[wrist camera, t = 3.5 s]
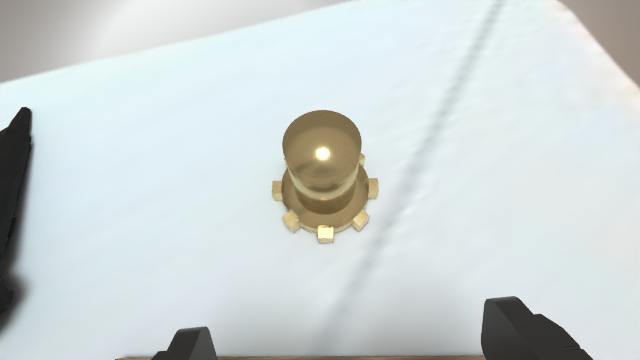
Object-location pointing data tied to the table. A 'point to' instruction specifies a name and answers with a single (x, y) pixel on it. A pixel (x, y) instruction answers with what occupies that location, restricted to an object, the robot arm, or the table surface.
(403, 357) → the carrier plate
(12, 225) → the microphone
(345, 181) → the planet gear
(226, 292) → the table surface
